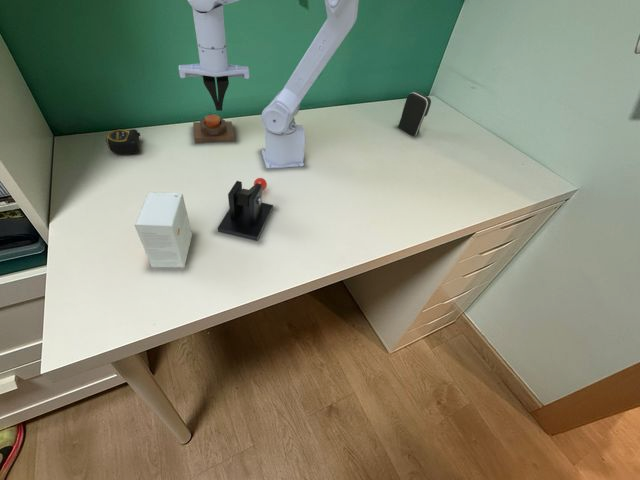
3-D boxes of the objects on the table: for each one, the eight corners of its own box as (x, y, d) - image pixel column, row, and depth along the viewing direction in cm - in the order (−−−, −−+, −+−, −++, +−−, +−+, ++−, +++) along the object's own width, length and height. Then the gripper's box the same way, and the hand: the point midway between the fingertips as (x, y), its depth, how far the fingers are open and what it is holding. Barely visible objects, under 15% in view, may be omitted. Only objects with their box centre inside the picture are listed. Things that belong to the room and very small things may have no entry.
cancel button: (219, 120, 87) (219, 114, 86) (220, 127, 84) (220, 121, 83) (205, 121, 86) (204, 114, 85) (206, 127, 83) (205, 121, 82)
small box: (162, 234, 62) (147, 190, 54) (193, 235, 62) (183, 192, 55) (150, 268, 56) (132, 224, 48) (184, 268, 57) (172, 225, 49)
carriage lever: (255, 187, 73) (256, 175, 71) (267, 189, 72) (269, 177, 71) (235, 205, 62) (236, 191, 61) (249, 208, 62) (250, 194, 61)
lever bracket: (237, 200, 71) (234, 170, 65) (273, 209, 70) (273, 179, 64) (218, 232, 64) (213, 201, 58) (257, 241, 63) (256, 211, 58)
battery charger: (421, 134, 102) (435, 98, 94) (414, 137, 100) (427, 100, 92) (404, 124, 105) (415, 88, 97) (396, 127, 103) (408, 90, 95)
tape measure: (141, 156, 77) (137, 142, 74) (108, 158, 75) (102, 144, 72) (142, 141, 81) (138, 127, 79) (111, 142, 79) (106, 128, 77)
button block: (232, 127, 91) (231, 115, 89) (235, 142, 86) (234, 129, 84) (194, 128, 89) (192, 115, 86) (195, 143, 83) (193, 131, 81)
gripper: (245, 39, 72) (247, 100, 82) (174, 36, 68) (186, 101, 78) (249, 51, 67) (251, 114, 77) (173, 48, 64) (186, 115, 73)
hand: (219, 108), depth 77 cm, fingers closed
